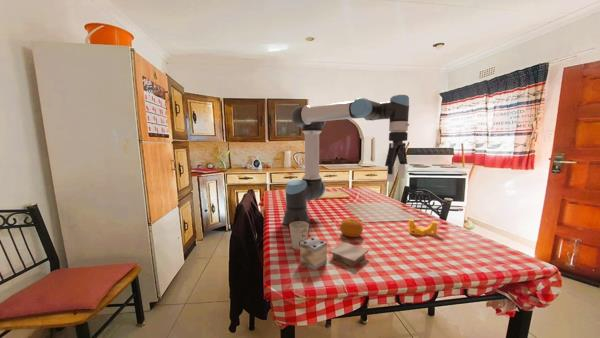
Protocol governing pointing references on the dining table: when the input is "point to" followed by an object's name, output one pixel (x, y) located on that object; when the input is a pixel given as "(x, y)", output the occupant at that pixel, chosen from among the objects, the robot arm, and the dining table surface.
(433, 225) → the pipe clamp
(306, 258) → the housing
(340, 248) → the stand
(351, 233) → the fruit
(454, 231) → the dining table surface
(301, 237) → the mug
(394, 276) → the dining table surface
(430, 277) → the dining table surface
